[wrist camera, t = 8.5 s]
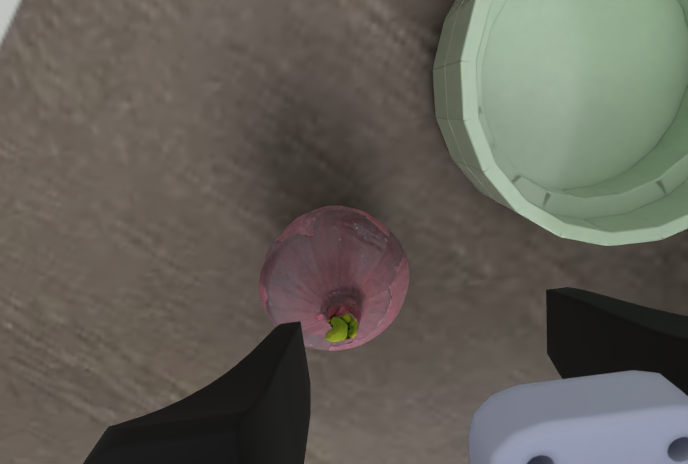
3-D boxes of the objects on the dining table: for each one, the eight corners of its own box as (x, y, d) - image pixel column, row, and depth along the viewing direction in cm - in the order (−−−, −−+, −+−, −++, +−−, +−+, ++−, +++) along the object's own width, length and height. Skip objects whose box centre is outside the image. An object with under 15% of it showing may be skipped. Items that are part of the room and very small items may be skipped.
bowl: (704, 199, 24) (799, 223, 19) (441, 231, 24) (470, 263, 19) (727, -103, 21) (851, -167, 16) (421, -66, 20) (451, -120, 16)
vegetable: (416, 222, 24) (479, 302, 14) (361, 326, 25) (385, 466, 15) (302, 169, 23) (286, 217, 13) (252, 281, 24) (204, 398, 14)
